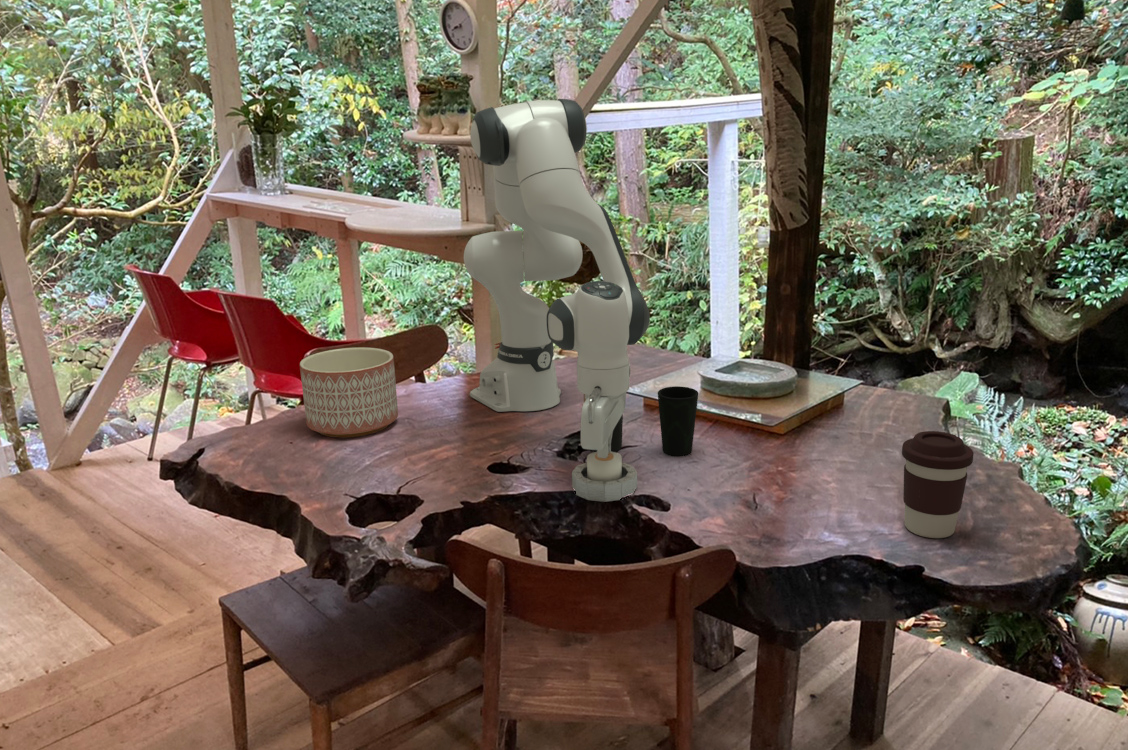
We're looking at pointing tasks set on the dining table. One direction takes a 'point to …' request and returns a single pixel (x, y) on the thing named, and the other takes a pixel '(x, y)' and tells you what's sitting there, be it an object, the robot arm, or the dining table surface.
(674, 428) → the cup
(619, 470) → the jar
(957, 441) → the coffee cup
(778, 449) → the dining table surface
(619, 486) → the stone fire pit ring
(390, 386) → the planter
